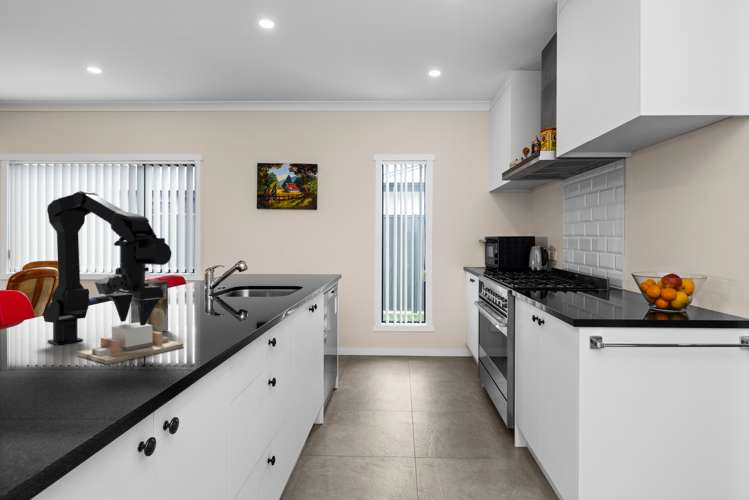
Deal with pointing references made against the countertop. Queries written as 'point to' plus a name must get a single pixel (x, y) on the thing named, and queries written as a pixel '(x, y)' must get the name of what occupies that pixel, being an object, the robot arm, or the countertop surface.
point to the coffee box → (159, 312)
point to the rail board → (116, 353)
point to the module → (133, 335)
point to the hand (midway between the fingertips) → (132, 323)
